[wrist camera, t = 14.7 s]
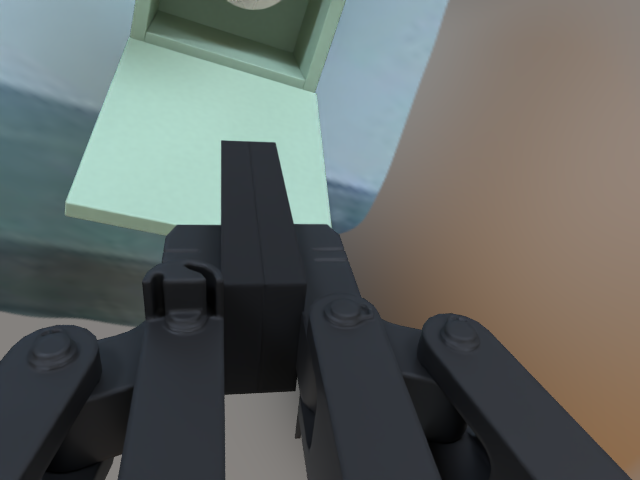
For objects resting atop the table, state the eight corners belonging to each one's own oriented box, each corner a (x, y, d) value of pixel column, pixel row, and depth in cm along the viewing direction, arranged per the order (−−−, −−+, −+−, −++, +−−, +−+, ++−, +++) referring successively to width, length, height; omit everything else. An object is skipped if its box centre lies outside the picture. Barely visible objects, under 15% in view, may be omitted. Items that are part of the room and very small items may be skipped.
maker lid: (65, 202, 20) (64, 216, 21) (335, 257, 23) (329, 268, 24) (128, 36, 29) (127, 49, 30) (317, 93, 33) (312, 104, 33)
